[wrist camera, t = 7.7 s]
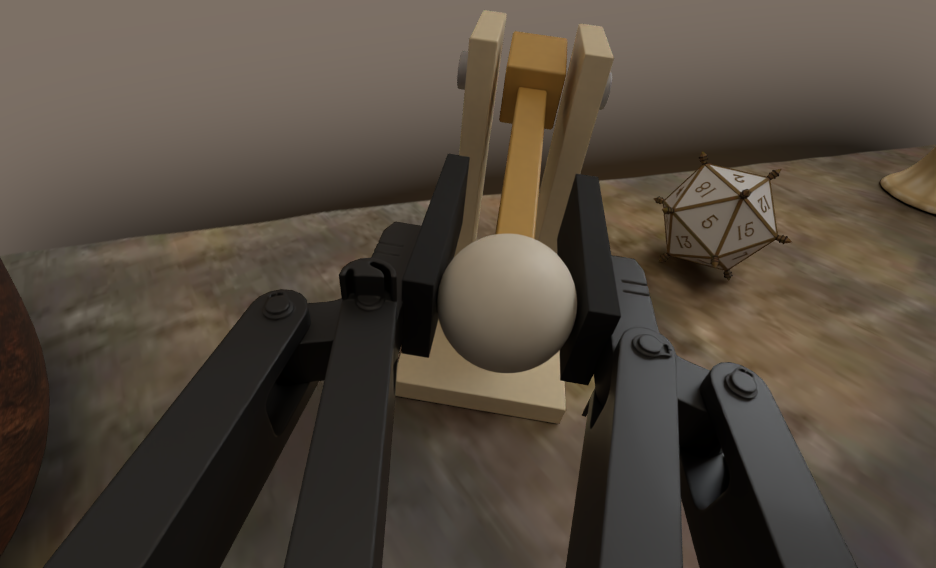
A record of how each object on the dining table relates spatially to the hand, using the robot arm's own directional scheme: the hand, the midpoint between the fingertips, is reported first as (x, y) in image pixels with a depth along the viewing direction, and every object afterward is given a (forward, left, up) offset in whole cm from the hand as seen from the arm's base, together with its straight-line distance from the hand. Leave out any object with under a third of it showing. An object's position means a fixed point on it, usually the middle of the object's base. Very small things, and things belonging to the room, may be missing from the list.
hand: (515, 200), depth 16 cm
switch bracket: (+3, -5, -13) cm, 14 cm away
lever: (0, 0, 0) cm, 0 cm away
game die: (-5, -22, -13) cm, 26 cm away
